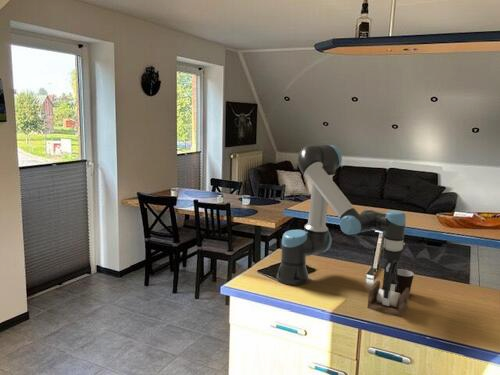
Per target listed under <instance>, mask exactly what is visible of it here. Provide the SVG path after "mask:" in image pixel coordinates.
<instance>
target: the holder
mask: <svg viewBox="0 0 500 375" xmlns="http://www.w3.org/2000/svg"><path fill="white" fill-rule="evenodd" d="M380 286H381V281H380V280H376V282H374V284H372V286H371V287H370V288H369V289H368V297H367V299H368V300H367V309H371V310H375V311H378V312H382V313H386V314H389V315H393V316H396V317H399V318H400V317H402V316H403V314H404V312H405V311H406V309H407V308H408V306H409V296H410V293H409V288H407V287H406V289H405V290H404V292H403V293H402V294H401V296H400V298H399V306H398V308H396V307H392V306H386V305H383V304H381V303H378V302H377V295H378V291H379V289H380Z"/></svg>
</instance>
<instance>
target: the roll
mask: <svg viewBox="0 0 500 375" xmlns="http://www.w3.org/2000/svg"><path fill="white" fill-rule="evenodd" d="M381 288H382V287H381ZM381 288H380V289H379V291H378V295H377V302H378V303H381V304H382V302H383V290H382V289H381ZM400 296H401V294H400V293H397V292H393V291H391V294H390V305H389V306H392V307H396V308H398V306H399V298H400Z"/></svg>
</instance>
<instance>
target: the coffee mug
mask: <svg viewBox="0 0 500 375" xmlns="http://www.w3.org/2000/svg"><path fill="white" fill-rule="evenodd" d="M414 274H415V273H414V272H413V271H411V270H408V269H403V268H400V269H399V268H398V272H397V281H396V282H398V284H395V292H397V293H400V294H402V293H403V292H404V290H405V289H406V287H407V288H409V294H410V293H411V289H412V284H413V279H414Z"/></svg>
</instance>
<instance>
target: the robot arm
mask: <svg viewBox="0 0 500 375" xmlns="http://www.w3.org/2000/svg"><path fill="white" fill-rule="evenodd" d="M342 160H343V156H342V153H341V151H340V150H339V148H338V147H337V146H336V145H333V144H308V145H305V146H304V147H302V148H301V150H300V151H299V153H298V155H297V164H298V168H299V170H300V171H301V174H302V175H303V177H305V178H307V179H309V180H310V181H311V183H312V185H311V192H310V201H309V202H310V203H309V210H308V219H307V220H308V221H307V223H306V224H304V229H290V230H287V231H285V232H284V233H283V234H282V238H281V239H282V240H281V256H280V257H281V259H280V260H281V262H280V265H279V266H278V270H277V273H276V280H277V279H278V280H277V281H278V282H279V281H280V283H281V284H284V285H290V286H300V285H301V286H302V285H305V284H307V283H308V282H309V273H308V270H307V266H306V263H307V262H306V261H307V260H306V259H307V257H309V256H313V255H314V256H315V255H321V254H322V253H325V252H327V251H328V250H329V249H330V248H331V246H332V243H333V242H332V240H333V238H332V235H331V232H330V231H329V227H327V225H326V224H327V216H328V208H329V207H330V209H332V211H333V212H334V214H336V216H337V217H338V219H339V220H340V221H339V227H340V230H341V232H343V233H344V234H346V235H358V234H360V233H364V232H370V231H378V232H382V233H384V238H383V250H382V257H383V258H384V259H386V262H385V266H384V267H383V280H382V287H381V289H382V290H383V302H382V304H383V305H386V306H389V305H390V294H391V291H393V292H395V284H398V282H396V281H397V272H398V269H399V261H401V260H402V259H403V248H404V246H405V245H406V243H405V242H404V239H405V230H406V223H407V221H406V219H407V218H406V216H407V215H406V213H405V212H404V211H400V210H396V209H395V210H394V209H391V210H387V211H386V212H385V213H383V212H378V211H375V210H373V209H371V210H369V209H363V210H362V211H361V212H360V213H359V212H358V211H357V210H356V208H355V206H353V204H352V203H351V201H349V199H348V198H347V196H346V195H344V193H343V192H342V190H340V188H339V186H338V185H337V184H336V182H334V181H333V179H332V177H334V176H335V175H336V170H337V169H338V168H340V166H341V164H342Z"/></svg>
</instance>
